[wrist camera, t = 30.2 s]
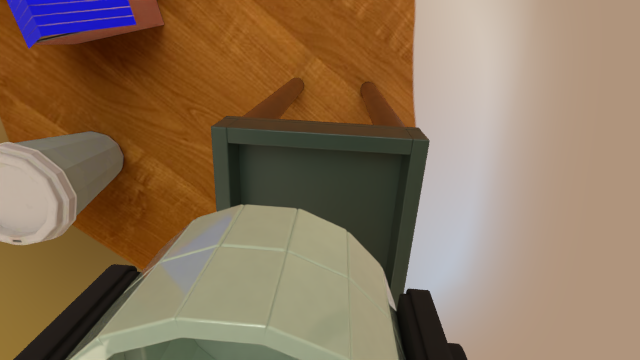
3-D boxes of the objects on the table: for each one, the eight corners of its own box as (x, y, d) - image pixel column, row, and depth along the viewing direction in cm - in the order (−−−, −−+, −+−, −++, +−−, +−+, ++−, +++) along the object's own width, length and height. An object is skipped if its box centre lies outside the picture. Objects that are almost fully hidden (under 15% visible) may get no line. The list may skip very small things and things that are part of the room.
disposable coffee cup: (55, 113, 45) (-73, 145, 31) (136, 117, 45) (43, 151, 31) (73, 189, 49) (-33, 247, 35) (148, 193, 49) (71, 254, 35)
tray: (377, 80, 41) (430, 140, 17) (362, 223, 48) (383, 413, 24) (288, 75, 42) (210, 126, 17) (286, 218, 49) (228, 399, 24)
